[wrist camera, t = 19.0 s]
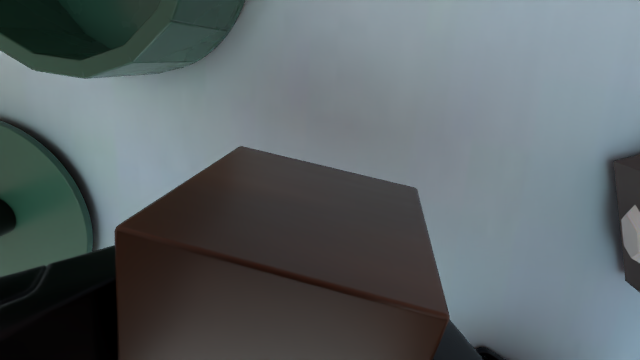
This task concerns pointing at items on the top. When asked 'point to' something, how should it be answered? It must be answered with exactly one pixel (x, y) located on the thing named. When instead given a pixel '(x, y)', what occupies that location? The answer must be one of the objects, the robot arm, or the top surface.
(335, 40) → the top surface
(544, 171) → the top surface
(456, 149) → the top surface
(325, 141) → the top surface
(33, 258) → the lid
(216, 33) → the pot
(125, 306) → the block
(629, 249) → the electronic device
